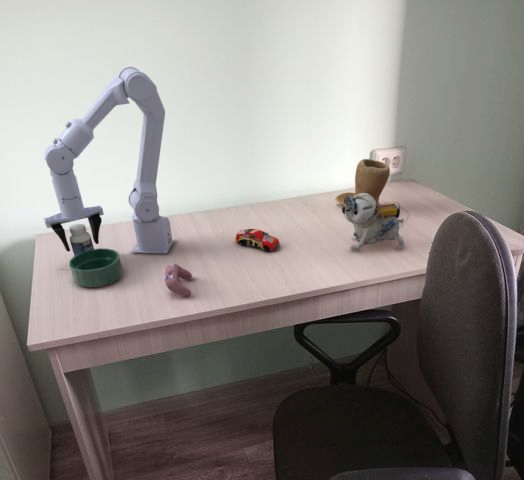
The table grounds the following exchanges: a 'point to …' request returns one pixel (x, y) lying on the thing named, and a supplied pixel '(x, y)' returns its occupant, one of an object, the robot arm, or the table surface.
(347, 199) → the robotic toy
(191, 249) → the table surface
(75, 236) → the pill bottle
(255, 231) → the race car
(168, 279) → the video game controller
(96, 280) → the bowl
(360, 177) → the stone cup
